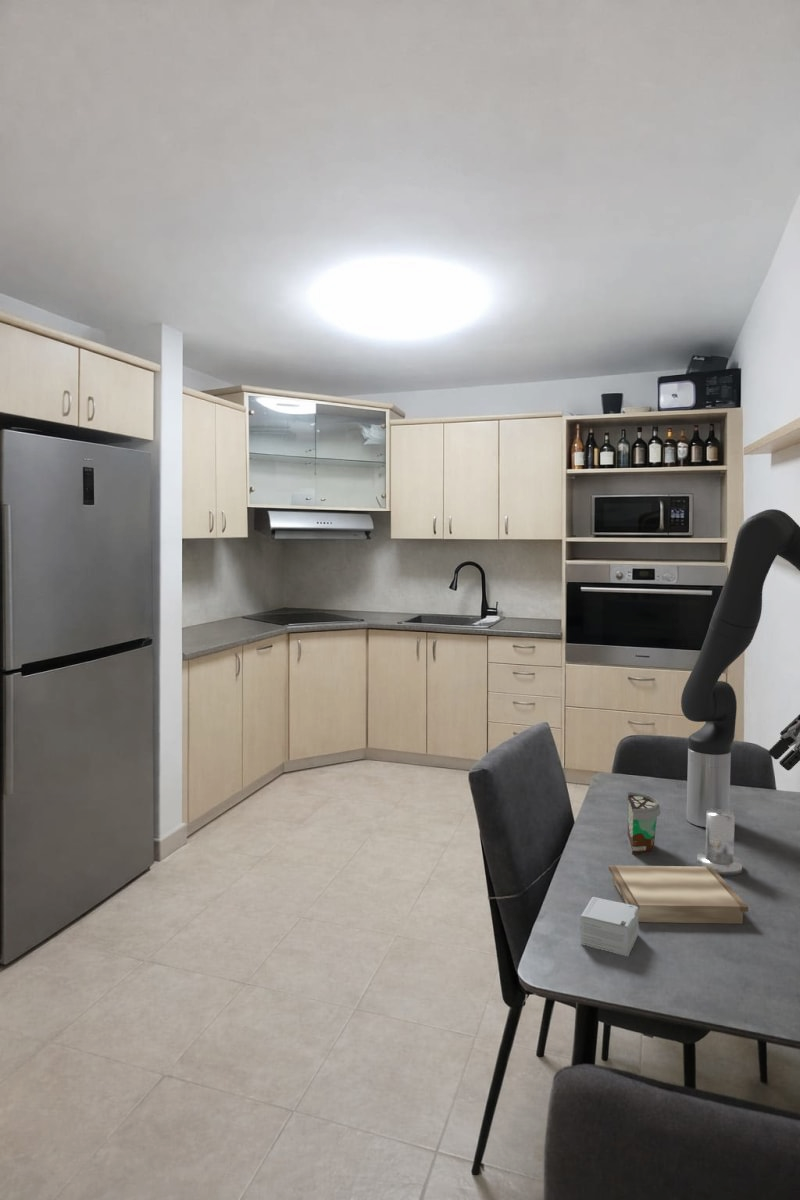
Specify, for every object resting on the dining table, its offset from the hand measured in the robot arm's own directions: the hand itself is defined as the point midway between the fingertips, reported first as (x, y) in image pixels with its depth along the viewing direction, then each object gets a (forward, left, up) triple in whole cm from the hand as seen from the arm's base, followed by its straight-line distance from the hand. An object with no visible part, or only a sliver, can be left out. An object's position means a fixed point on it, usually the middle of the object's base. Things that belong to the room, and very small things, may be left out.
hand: (777, 761), depth 147 cm
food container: (-11, -22, -22) cm, 33 cm away
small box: (+28, -39, -22) cm, 53 cm away
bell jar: (-1, -10, -22) cm, 24 cm away
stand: (+14, -24, -22) cm, 36 cm away
